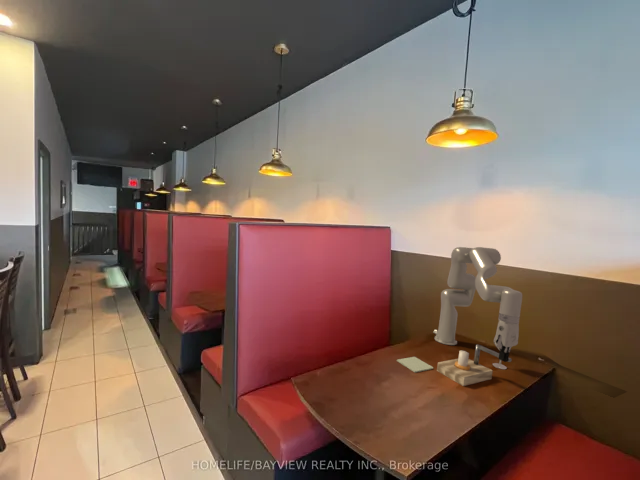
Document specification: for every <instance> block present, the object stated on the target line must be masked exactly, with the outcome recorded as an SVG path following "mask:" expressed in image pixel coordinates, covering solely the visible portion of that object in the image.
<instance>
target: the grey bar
mask: <svg viewBox="0 0 640 480" xmlns="http://www.w3.org/2000/svg"><path fill="white" fill-rule="evenodd" d="M481 351H483V352H484V353H488V354H490V355H491V356H494V357H496V358H498V359H499V352H497V351H495V350H492V349H489V348H487V347H485V346H483V345H481V344H475V350H474V357H473V361H474V364H476V365H478V364H480V363H479V361H480V354H481ZM512 360H513V359H512V358H511V357H509V358H508V362H507V363H511V362H512Z"/></svg>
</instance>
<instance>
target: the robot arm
mask: <svg viewBox="0 0 640 480" xmlns="http://www.w3.org/2000/svg"><path fill="white" fill-rule="evenodd" d="M501 259H502V255H501V253H500V251H499V250H498V249H496V248H493V247H492V248H491V247H483V246H482V247H481V246H478V247H467V246H466V247H462V246H458V247H455V248H453V250H452V252H451V254H450V261H451V264H450V268H449V273H448V277H447V281H446V283H447V286H448V287H449V288H446V289H443V290H442V291H441V292H440V313H439V315H440V316H439V321H438V322H439V323H438V328H437V329H434V330H433V332H432V333H433V334H435V335H434V340H435V341H436V342H438V343H440V344H442V345H447V346H448V345H449V346H455V345H458V341H457V340H456V332H457V325H458V324H457V323H458V315H459V314H458V311H457V309H456V307H466V308H467V307H470V306H471V305H472V303H473V300H474V297H475V294H476V293H477V294H478V295H479V297H480V298H481V299H482V300H483V301H484V302H488V303H489V302H490V303H499V312H498V322H497V327H496V332H495V335H496V337H495V336H494V338H495V342H496V344H497V347H496V348H497V349H498V348H499V349H498V350H499V352H498V353H499V358H498V360H499V361H500V360H501V362H503V363H506V362H507V363H509V362H508V358H510V352H511V350H512V349H511V348H512V347H516V346H517V345H518V344H519V335H520V334H519V333H520V326H519V324H520V317H521V309H522V304H523V303H522V302H523V293H522V291H519V290H516V289H513V288H512V287H509V286H505V285H503V286H502V285H494V284H488V283H487V279H490V278H491V277H494V276H495V275H496V274H497V272H498V268H497V266H496V265H498V264H500V263H501ZM467 264H470V265H471V264H473V266H474V268H475V270H476V272H477V274H476V276H475V275H474V274H472V273H467V270H468V269H467V268H468V265H467ZM476 291H477V292H476ZM475 292H476V293H475Z"/></svg>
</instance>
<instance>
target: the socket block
mask: <svg viewBox="0 0 640 480" xmlns="http://www.w3.org/2000/svg"><path fill="white" fill-rule="evenodd" d="M456 361H458V358H455V359H448V360H444V361H439V362H437V367H436V372H438V373H439V374H441V375H443V376H445V377H447V378H448V379H450V380H451V381H454V382H455V383H457V384H458V385H461V386H463V387H465V386H469V385H474V384H477V383H480V382H484V381H489V380H492V378H493V371H494V369H493V370H492V369H491V368H489V367H487V366H484V365H482V364H481V363H478V365H476V364H474V360H473V359H470V358H468V364H469V365H470V370H461V369H459V368H457V367H455V362H456Z"/></svg>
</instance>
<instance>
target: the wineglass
mask: <svg viewBox="0 0 640 480" xmlns="http://www.w3.org/2000/svg"><path fill="white" fill-rule="evenodd" d="M495 337H496V334H495V336H494V338H493V344H494V346H495V347H496V348H497V344H496V342H495ZM497 349H498V350H499V348H497ZM492 366H493V367H495V368H496V369H500V370H507V368H508V367H507V366H505V365H504V364H502V360H499V362H494V363H493V362H492Z"/></svg>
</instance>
